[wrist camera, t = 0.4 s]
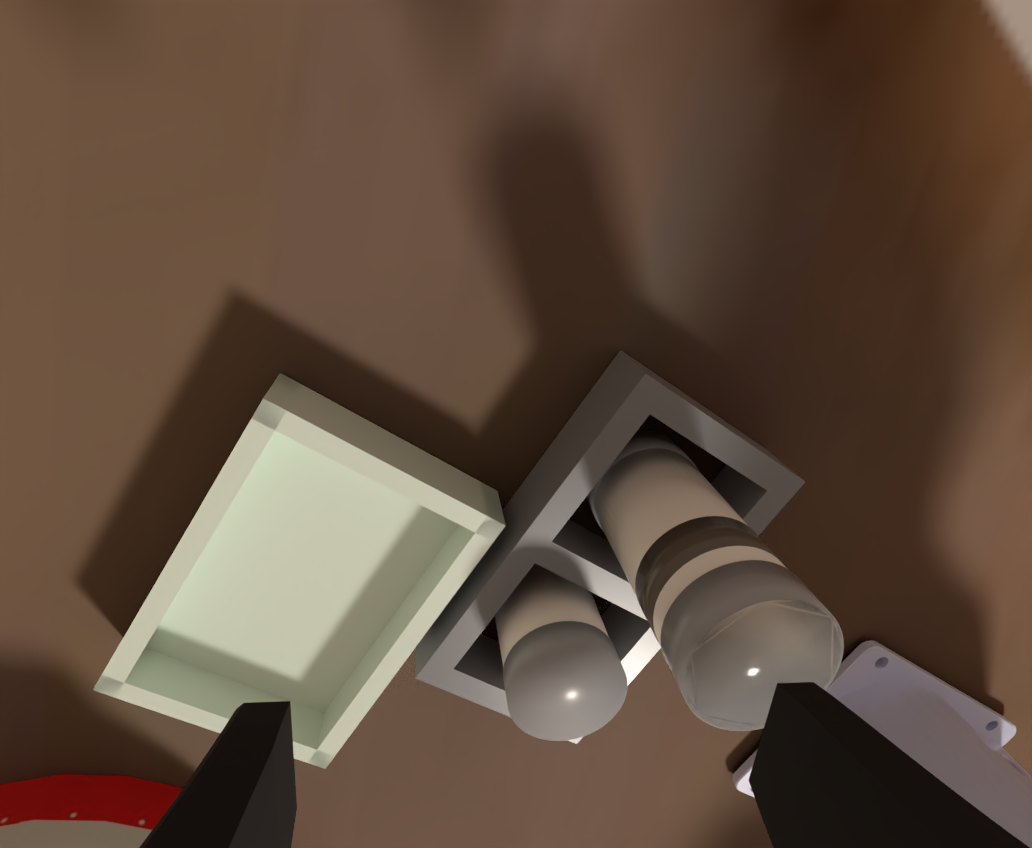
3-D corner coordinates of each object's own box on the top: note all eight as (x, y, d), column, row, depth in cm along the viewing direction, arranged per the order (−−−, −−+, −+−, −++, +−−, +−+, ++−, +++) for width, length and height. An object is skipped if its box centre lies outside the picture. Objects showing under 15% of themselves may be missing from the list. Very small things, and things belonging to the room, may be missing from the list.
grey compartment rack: (766, 449, 20) (847, 515, 16) (562, 692, 23) (591, 797, 19) (620, 349, 18) (673, 399, 14) (415, 628, 21) (414, 731, 17)
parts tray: (497, 490, 19) (505, 525, 17) (333, 717, 22) (325, 769, 20) (280, 372, 17) (263, 398, 15) (124, 640, 19) (92, 690, 18)
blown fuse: (707, 462, 20) (876, 638, 13) (643, 542, 21) (766, 751, 13) (627, 410, 19) (760, 569, 11) (562, 496, 20) (648, 696, 12)
